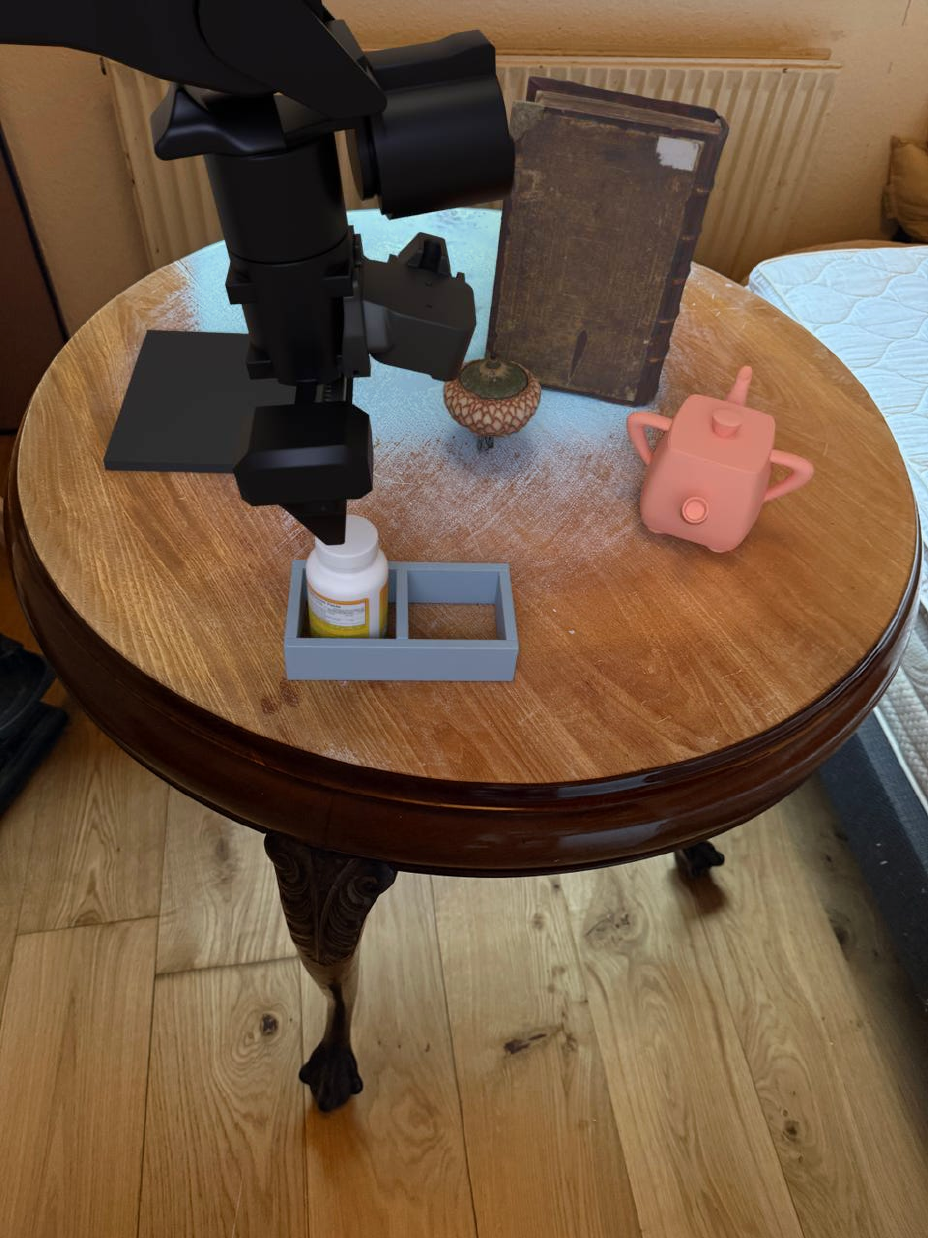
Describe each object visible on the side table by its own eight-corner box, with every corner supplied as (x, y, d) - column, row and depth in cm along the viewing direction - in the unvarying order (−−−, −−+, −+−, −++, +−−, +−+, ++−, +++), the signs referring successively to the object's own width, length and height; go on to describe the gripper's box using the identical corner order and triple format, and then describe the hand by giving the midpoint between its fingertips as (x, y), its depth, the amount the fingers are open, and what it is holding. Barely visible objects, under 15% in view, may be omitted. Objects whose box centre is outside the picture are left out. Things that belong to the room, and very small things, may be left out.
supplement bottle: (354, 596, 68) (352, 494, 61) (403, 638, 66) (407, 537, 58) (295, 632, 65) (285, 530, 58) (344, 677, 63) (340, 576, 56)
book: (662, 385, 90) (736, 108, 72) (648, 424, 85) (723, 140, 67) (499, 344, 93) (531, 68, 74) (477, 380, 88) (505, 95, 70)
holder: (286, 680, 62) (283, 646, 60) (295, 593, 68) (292, 559, 65) (513, 681, 64) (519, 648, 61) (503, 596, 69) (508, 563, 67)
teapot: (800, 565, 74) (848, 463, 66) (666, 588, 71) (700, 484, 64) (718, 456, 83) (752, 357, 76) (596, 473, 80) (619, 371, 73)
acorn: (507, 415, 85) (520, 316, 77) (548, 469, 80) (566, 368, 72) (424, 432, 82) (429, 330, 75) (461, 489, 77) (470, 386, 70)
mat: (105, 470, 75) (102, 460, 75) (148, 338, 89) (147, 329, 88) (339, 476, 77) (339, 466, 76) (347, 346, 91) (347, 337, 90)
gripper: (471, 333, 37) (485, 596, 48) (453, 135, 49) (467, 384, 61) (191, 353, 37) (273, 611, 49) (242, 151, 49) (298, 396, 61)
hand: (339, 488), depth 55 cm, fingers open, 9 cm apart
